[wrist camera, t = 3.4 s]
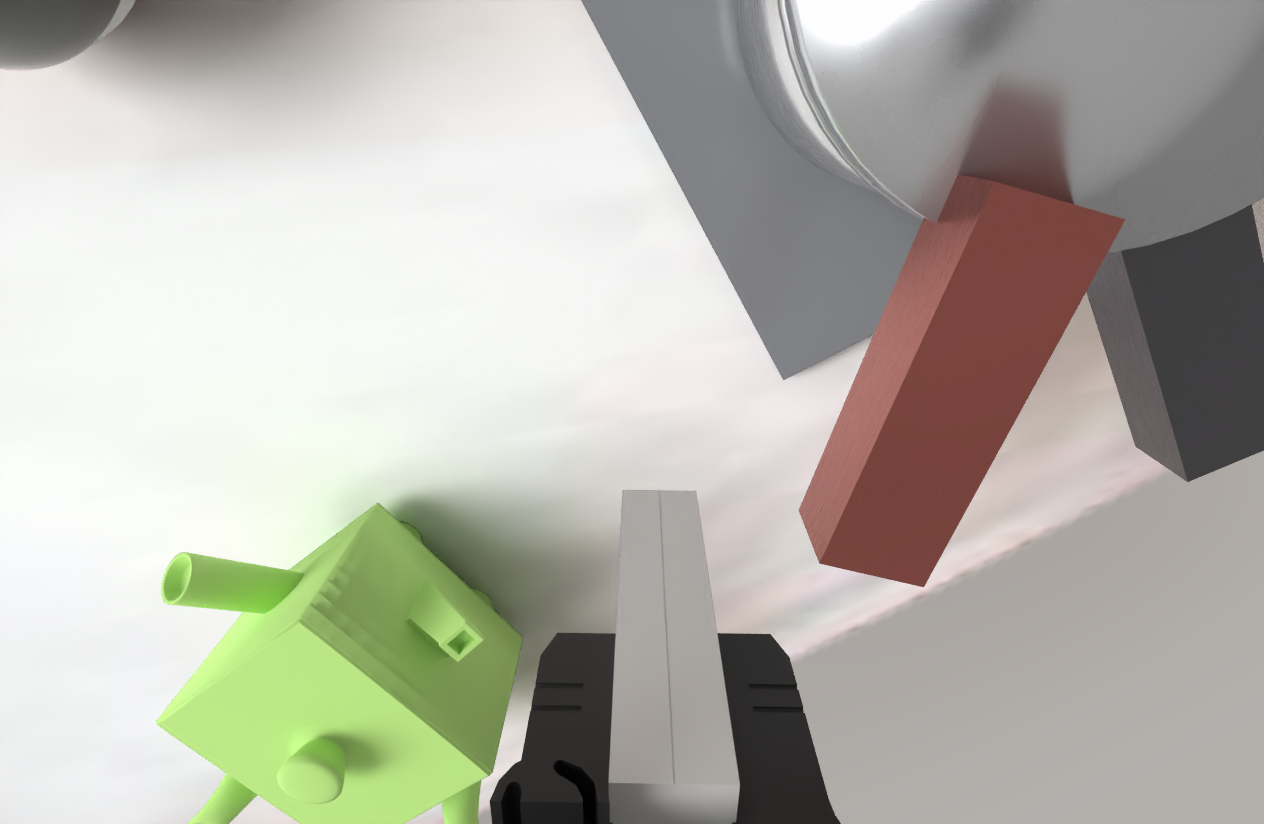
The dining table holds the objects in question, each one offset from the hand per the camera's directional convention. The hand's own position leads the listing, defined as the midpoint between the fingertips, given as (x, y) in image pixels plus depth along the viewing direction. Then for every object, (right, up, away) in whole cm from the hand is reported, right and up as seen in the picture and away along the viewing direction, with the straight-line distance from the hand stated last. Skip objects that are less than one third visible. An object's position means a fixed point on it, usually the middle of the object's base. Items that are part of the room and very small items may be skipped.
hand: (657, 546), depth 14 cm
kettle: (-13, -8, +23) cm, 28 cm away
